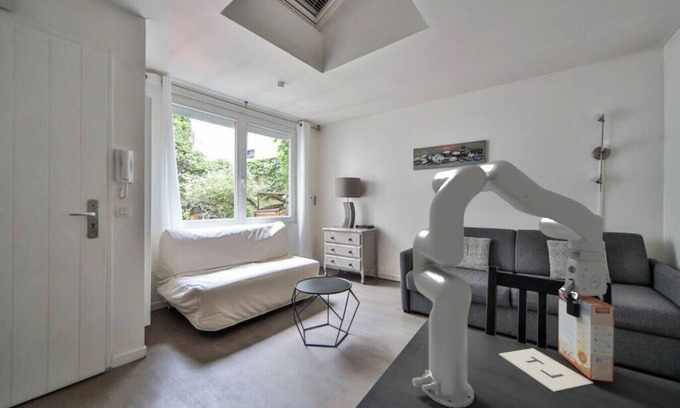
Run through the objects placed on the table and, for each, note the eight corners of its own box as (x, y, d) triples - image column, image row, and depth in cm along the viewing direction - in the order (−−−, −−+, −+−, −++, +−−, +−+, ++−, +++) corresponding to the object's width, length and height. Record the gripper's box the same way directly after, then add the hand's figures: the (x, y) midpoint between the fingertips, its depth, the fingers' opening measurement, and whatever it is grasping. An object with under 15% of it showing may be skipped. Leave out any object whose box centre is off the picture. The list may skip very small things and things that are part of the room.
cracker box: (615, 383, 73) (615, 305, 72) (589, 380, 74) (589, 304, 73) (578, 354, 86) (578, 289, 86) (557, 352, 87) (557, 288, 87)
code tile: (553, 391, 71) (553, 390, 71) (498, 354, 88) (498, 353, 88) (593, 383, 74) (593, 382, 74) (532, 348, 92) (532, 348, 92)
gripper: (575, 259, 74) (575, 322, 74) (621, 256, 78) (621, 316, 78) (549, 254, 81) (548, 312, 82) (592, 252, 86) (591, 307, 86)
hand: (584, 314), depth 80 cm, fingers open, 8 cm apart
